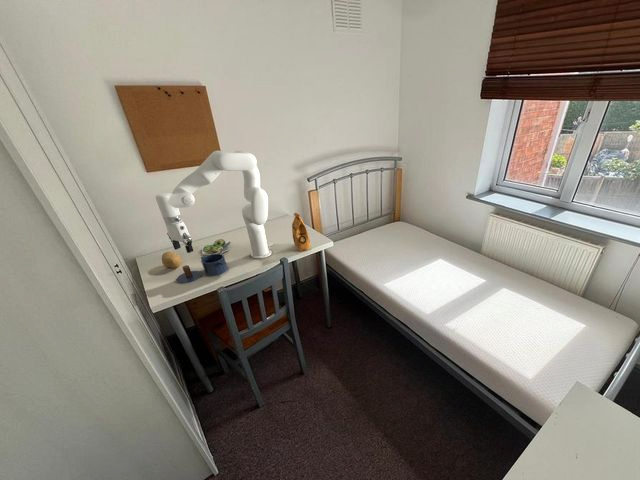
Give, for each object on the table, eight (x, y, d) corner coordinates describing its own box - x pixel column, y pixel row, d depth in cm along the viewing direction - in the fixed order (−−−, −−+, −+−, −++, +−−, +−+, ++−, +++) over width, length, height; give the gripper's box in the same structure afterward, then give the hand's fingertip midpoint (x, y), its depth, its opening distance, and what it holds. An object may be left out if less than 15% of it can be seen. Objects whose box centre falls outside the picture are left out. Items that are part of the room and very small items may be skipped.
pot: (214, 264, 172) (210, 251, 168) (235, 270, 166) (231, 256, 161) (197, 273, 163) (193, 259, 159) (219, 279, 157) (214, 266, 153)
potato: (168, 273, 163) (163, 261, 159) (161, 265, 172) (156, 253, 167) (187, 267, 169) (182, 255, 165) (179, 259, 177) (175, 247, 173)
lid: (192, 270, 166) (188, 259, 162) (207, 275, 161) (203, 263, 158) (172, 281, 157) (167, 269, 153) (187, 286, 152) (182, 274, 148)
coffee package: (296, 252, 183) (291, 219, 172) (293, 244, 193) (288, 212, 182) (311, 250, 186) (307, 217, 175) (308, 242, 196) (304, 210, 185)
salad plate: (234, 253, 183) (232, 247, 181) (203, 260, 176) (200, 253, 174) (230, 242, 198) (229, 236, 196) (201, 248, 191) (199, 241, 188)
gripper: (191, 219, 142) (202, 250, 151) (168, 214, 149) (179, 244, 157) (177, 224, 136) (189, 256, 145) (154, 218, 143) (166, 250, 152)
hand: (184, 250), depth 151 cm, fingers open, 9 cm apart
